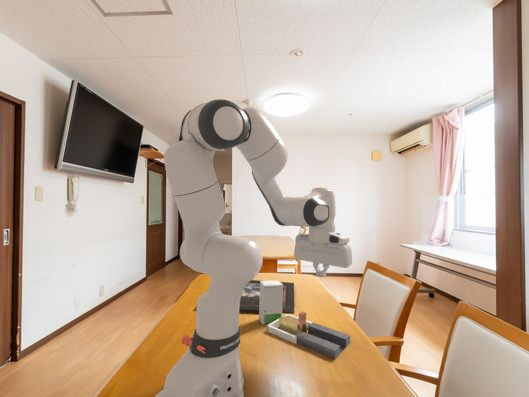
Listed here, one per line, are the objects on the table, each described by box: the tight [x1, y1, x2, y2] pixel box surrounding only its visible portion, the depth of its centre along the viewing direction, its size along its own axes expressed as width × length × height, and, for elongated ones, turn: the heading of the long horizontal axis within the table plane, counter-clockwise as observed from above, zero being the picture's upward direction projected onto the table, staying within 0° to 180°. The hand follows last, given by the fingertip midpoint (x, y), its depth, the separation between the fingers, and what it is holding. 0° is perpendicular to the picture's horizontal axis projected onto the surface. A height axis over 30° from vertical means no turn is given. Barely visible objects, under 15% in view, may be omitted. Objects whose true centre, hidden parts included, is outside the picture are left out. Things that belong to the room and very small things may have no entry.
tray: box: [266, 313, 313, 344], centre depth 93 cm, size 13×12×3 cm
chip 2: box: [287, 319, 299, 336], centre depth 92 cm, size 4×4×4 cm
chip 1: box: [278, 314, 294, 333], centre depth 94 cm, size 4×4×4 cm
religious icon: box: [195, 279, 295, 315], centre depth 129 cm, size 40×45×3 cm
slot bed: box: [295, 321, 351, 360], centre depth 85 cm, size 12×14×4 cm
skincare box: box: [258, 280, 283, 325], centre depth 102 cm, size 8×7×16 cm
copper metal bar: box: [298, 311, 308, 333], centre depth 90 cm, size 4×2×7 cm, turn 141°
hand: (320, 276), depth 86 cm, fingers closed
